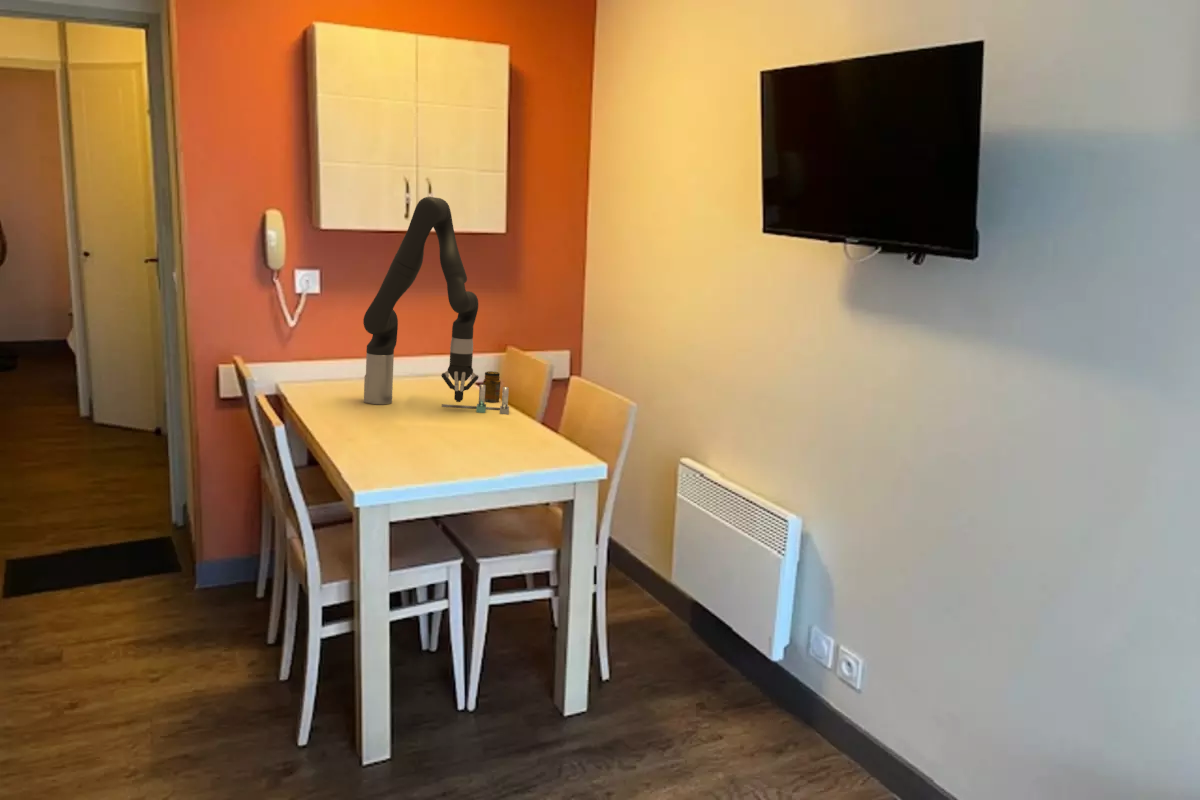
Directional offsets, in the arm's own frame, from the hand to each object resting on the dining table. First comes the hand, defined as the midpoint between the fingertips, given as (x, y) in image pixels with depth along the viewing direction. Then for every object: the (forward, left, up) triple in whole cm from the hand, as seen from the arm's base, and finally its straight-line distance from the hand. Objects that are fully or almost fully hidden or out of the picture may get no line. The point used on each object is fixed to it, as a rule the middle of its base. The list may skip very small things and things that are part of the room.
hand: (458, 401), depth 318 cm
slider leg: (+8, 0, -3) cm, 8 cm away
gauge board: (+6, -2, -4) cm, 7 cm away
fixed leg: (+16, 0, -3) cm, 16 cm away
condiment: (+11, +17, -5) cm, 21 cm away
